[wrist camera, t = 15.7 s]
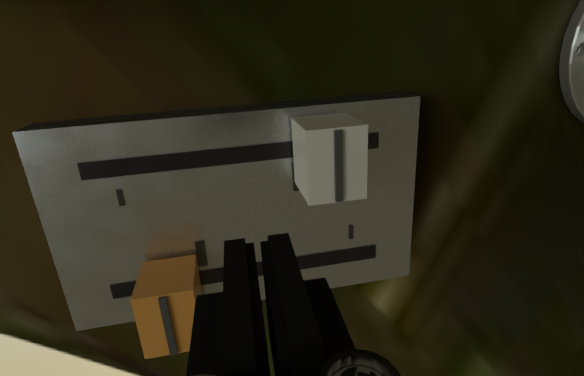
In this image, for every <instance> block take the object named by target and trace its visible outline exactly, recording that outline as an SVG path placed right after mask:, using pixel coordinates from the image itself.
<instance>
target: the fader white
mask: <svg viewBox="0 0 584 376" xmlns="http://www.w3.org/2000/svg"><path fill="white" fill-rule="evenodd" d="M291 125H292V142H293V160H294V178H295V184H296V185H297V187H298V188H299V190H300V192H301V193H302V195H303V197H304V198H305V200H306V202H307V203H308V205H309V206H313V205H320V204H328V203H336V202H343V201H351V200H359V199H366V198H367V165H368V124H366V123H364V122H362V121H360V120H358V119H356V118H354V117H352V116H350V115H348V114H346V113H334V114H323V115H312V116H302V117H291Z"/></svg>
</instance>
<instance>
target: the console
mask: <svg viewBox="0 0 584 376" xmlns="http://www.w3.org/2000/svg"><path fill="white" fill-rule="evenodd" d="M419 109H420V96H417V95H413V94H409V93H405V92H394V93H382V94H371V95H359V96H347V97H335V98H324V99H312V100H300V101H288V102H276V103H265V104H253V105H241V106H229V107H218V108H206V109H194V110H182V111H170V112H159V113H147V114H135V115H123V116H112V117H100V118H88V119H76V120H64V121H53V122H41V123H32V124H30V125H28V126H25V127H23V128H20V129H18V130H16V131H13V132H12V133H13V136H14V139H15V142H16V145H17V148H18V151H19V154H20V158H21V161H22V164H23V167H24V170H25V173H26V176H27V179H28V182H29V185H30V189H31V192H32V195H33V198H34V201H35V204H36V207H37V210H38V213H39V217H40V220H41V223H42V226H43V229H44V232H45V235H46V238H47V241H48V244H49V248H50V251H51V254H52V257H53V260H54V263H55V266H56V269H57V272H58V276H59V279H60V282H61V285H62V288H63V291H64V294H65V297H66V300H67V303H68V307H69V310H70V313H71V316H72V319H73V322H74V325H75V328H76V331H79V330H85V329H91V328H97V327H103V326H109V325H115V324H121V323H126V322H132V321H135V317H134V313H133V309H132V305H131V301H130V299H131V296H132V293H133V290H134V287H135V284H136V281H137V278H138V275H139V272H140V268H141V265H142V262H147V261H154V260H161V259H168V258H174V257H181V256H188V255H195V254H196V258H197V264H198V270H199V276H200V282H201V288H202V294H209V293H216V292H223V266H224V241H226V240H234V239H242V238H245V242H246V243H254V249H255V256H256V264H257V272H258V280H259V288H260V295H261V300H264V299H266V297H265V287H264V276H263V266H262V256H261V245H260V242H262V241H268V235H274V234H283V233H288V234H289V237H290V240H291V243H292V246H293V249H294V252H295V255H296V259H297V262H298V265H299V268H300V271H301V274H302V277H303V280H310V279H317V278H326V280H327V282H328V284H329V287H330V288H336V287H341V286H347V285H353V284H359V283H365V282H371V281H377V280H383V279H389V278H395V277H401V276H407V275H409V267H410V252H411V236H412V220H413V204H414V188H415V173H416V157H417V141H418V125H419ZM334 113H346V114H348V115H350V116H352V117H354V118H356V119H358V120H360V121H362V122H364V123H366V124H368V165H367V198H366V199H359V200H351V201H343V202H336V203H328V204H320V205H313V206H309V205H308V203H307V202H306V200H305V198H304V197H303V195H302V193H301V192H300V190H299V188H298V187H297V185H296V184H295V178H294V160H293V142H292V125H291V117H302V116H312V115H323V114H334Z"/></svg>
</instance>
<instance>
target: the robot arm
mask: <svg viewBox="0 0 584 376" xmlns="http://www.w3.org/2000/svg"><path fill="white" fill-rule="evenodd" d="M559 76H560V86H561V90H562V93H563V97H564V100H565V102H566V104H567V106H568V107H569V109H570V111H571V112H572V114H573V115H574V116H575V117H576V118H577V119H578V120H579V121H581V122H582V123H584V0H581V1H580V2H579V4H578V6H577V8H576V10H575V12H574V14H573V15H572V17H571V20H570V22H569V25H568V28H567V30H566V33H565V36H564V40H563V44H562V49H561V53H560V65H559ZM260 245H261V256H262V266H263V276H264V287H265V297H266V307H267V318H268V328H269V336H270V343H271V350H272V358H273V365H274V372H275V376H401V375H400V374H399V372H398V371H397V369H396V368H395V367H394V366H393V365H392V364H391V363H390V362H389V361H388V360H387V359H385V358H383V357H382V356H380V355H378V354H376V353H373V352H370V351H367V350H358V349H355V347H354V344H353V342H352V340H351V337H350V335H349V332H348V330H347V328H346V325H345V323H344V320H343V318H342V316H341V313H340V311H339V308H338V306H337V304H336V301H335V299H334V296H333V294H332V292H331V289H330V287H329V284H328V282H327V280H326V278H317V279H310V280H303V277H302V274H301V271H300V268H299V265H298V262H297V259H296V255H295V252H294V249H293V246H292V243H291V240H290V237H289V234H288V233H283V234H274V235H268V241H262V242H260ZM186 376H270V370H269V360H268V351H267V342H266V334H265V326H264V319H263V311H262V303H261V295H260V288H259V280H258V272H257V264H256V256H255V249H254V243H246V242H245V238H242V239H234V240H226V241H224V266H223V292H216V293H209V294H202V295H197V297H196V302H195V310H194V318H193V326H192V334H191V342H190V349H189V357H188V365H187V373H186Z"/></svg>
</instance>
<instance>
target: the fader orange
mask: <svg viewBox="0 0 584 376" xmlns="http://www.w3.org/2000/svg"><path fill="white" fill-rule="evenodd" d="M197 295H202V288H201V282H200V276H199V270H198V264H197V258H196V254H195V255H188V256H181V257H174V258H168V259H161V260H154V261H147V262H142V265H141V268H140V272H139V275H138V278H137V281H136V284H135V287H134V290H133V293H132V296H131V299H130V301H131V305H132V309H133V313H134V317H135V321H136V325H137V329H138V333H139V337H140V341H141V345H142V349H143V353H144V357H145V359H149V358H155V357H160V356H166V355H170V356H172V355H177V354H178V353H182V352H187V351H189V349H190V342H191V334H192V326H193V318H194V310H195V302H196V297H197Z"/></svg>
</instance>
